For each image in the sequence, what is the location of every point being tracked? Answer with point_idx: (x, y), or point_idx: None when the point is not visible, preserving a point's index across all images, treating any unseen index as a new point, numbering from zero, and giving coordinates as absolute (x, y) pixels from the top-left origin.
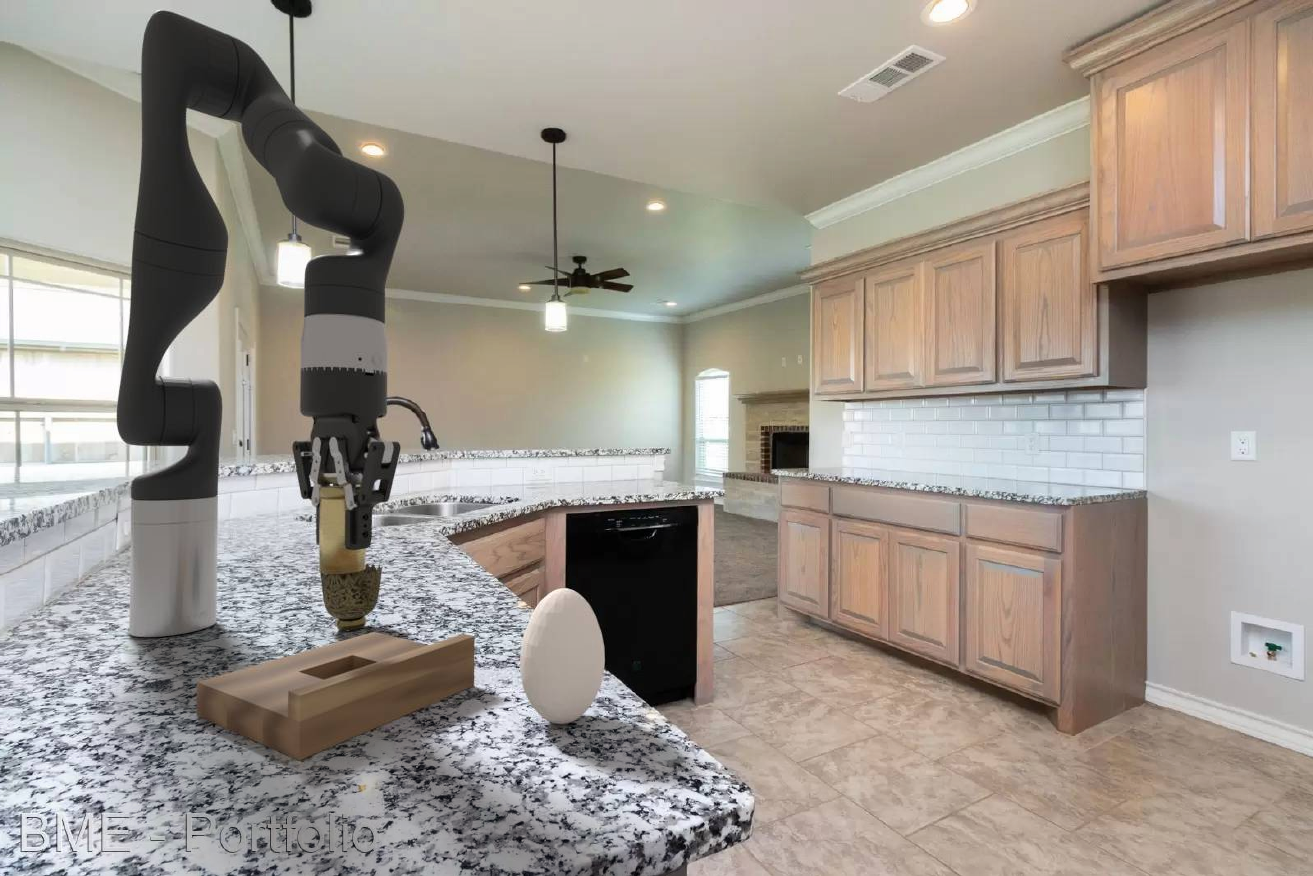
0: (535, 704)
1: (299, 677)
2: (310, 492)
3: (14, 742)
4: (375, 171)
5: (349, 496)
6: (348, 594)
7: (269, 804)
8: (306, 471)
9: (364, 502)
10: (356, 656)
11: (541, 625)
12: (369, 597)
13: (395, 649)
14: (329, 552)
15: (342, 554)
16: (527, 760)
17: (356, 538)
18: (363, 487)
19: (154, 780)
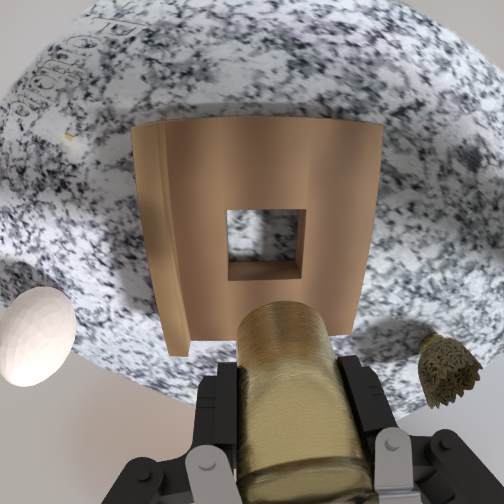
0: (44, 287)
1: (284, 197)
2: (429, 454)
3: (437, 25)
4: None
5: (210, 481)
6: (437, 362)
7: (102, 74)
8: (463, 496)
9: (132, 459)
10: (293, 279)
11: (6, 333)
12: (421, 374)
13: None
14: (268, 337)
15: (245, 348)
16: (27, 240)
17: (206, 386)
18: (130, 499)
19: (237, 26)
